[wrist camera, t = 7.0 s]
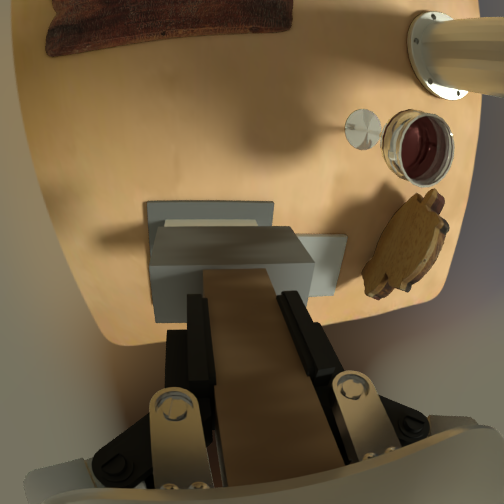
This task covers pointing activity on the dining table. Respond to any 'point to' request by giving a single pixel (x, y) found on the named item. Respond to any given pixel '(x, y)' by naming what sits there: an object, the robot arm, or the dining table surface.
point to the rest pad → (324, 260)
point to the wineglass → (406, 143)
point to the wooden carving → (407, 246)
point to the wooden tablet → (157, 21)
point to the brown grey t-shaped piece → (248, 345)
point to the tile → (210, 222)
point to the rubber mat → (206, 212)
